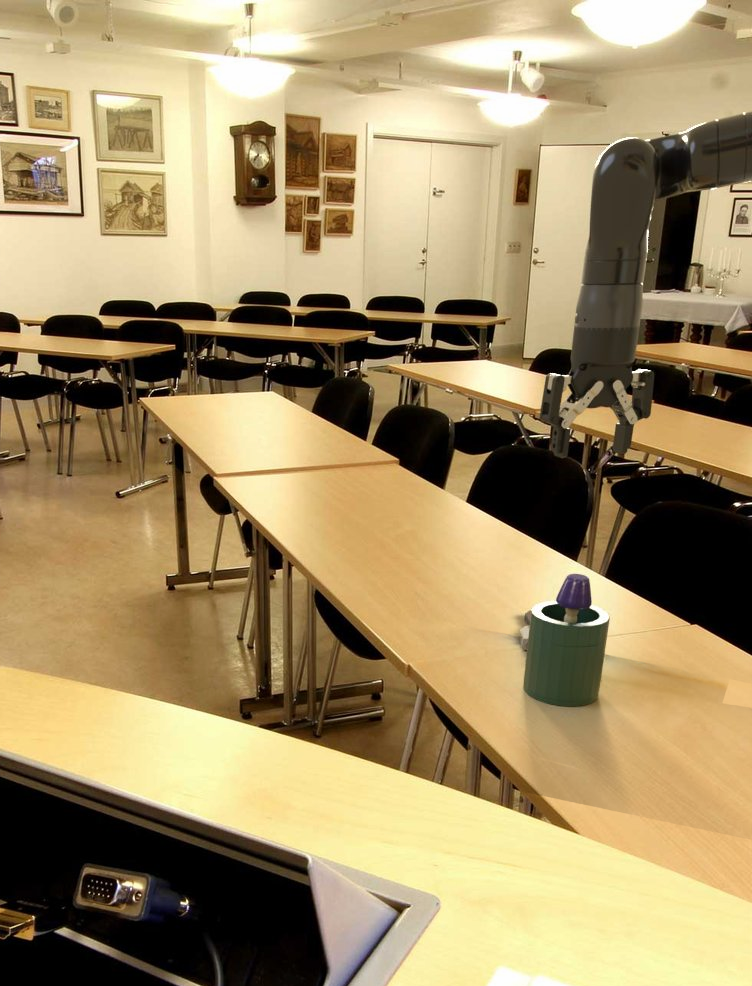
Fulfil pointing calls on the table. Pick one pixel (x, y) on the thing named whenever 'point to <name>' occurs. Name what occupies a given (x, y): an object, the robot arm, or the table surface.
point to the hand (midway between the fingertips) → (590, 454)
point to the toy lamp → (574, 596)
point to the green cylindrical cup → (565, 655)
